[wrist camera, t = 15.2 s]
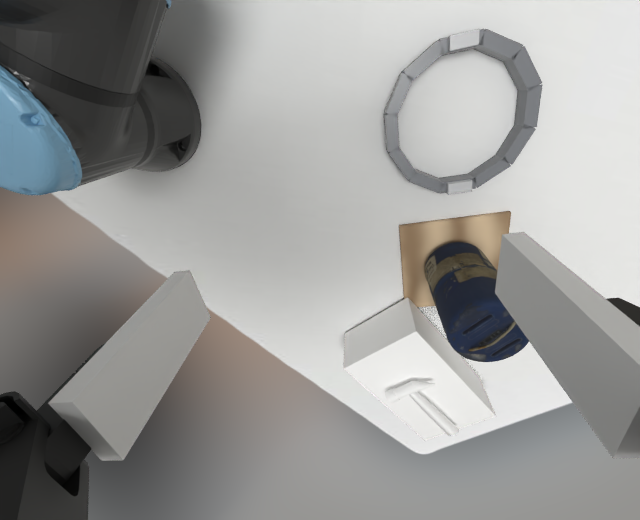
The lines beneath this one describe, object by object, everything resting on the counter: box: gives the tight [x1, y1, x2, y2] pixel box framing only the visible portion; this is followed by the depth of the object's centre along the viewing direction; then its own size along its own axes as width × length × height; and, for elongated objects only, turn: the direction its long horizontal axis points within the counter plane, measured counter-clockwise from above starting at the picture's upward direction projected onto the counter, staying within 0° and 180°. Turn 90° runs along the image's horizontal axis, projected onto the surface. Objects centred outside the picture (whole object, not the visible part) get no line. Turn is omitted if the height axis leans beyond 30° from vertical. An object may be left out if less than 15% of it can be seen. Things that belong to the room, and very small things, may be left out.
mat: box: [399, 211, 511, 307], centre depth 50 cm, size 16×16×1 cm
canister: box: [425, 242, 529, 362], centre depth 41 cm, size 10×10×18 cm
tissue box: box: [343, 297, 496, 441], centre depth 55 cm, size 14×25×11 cm, turn 42°
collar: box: [384, 29, 542, 195], centre depth 38 cm, size 18×18×4 cm
